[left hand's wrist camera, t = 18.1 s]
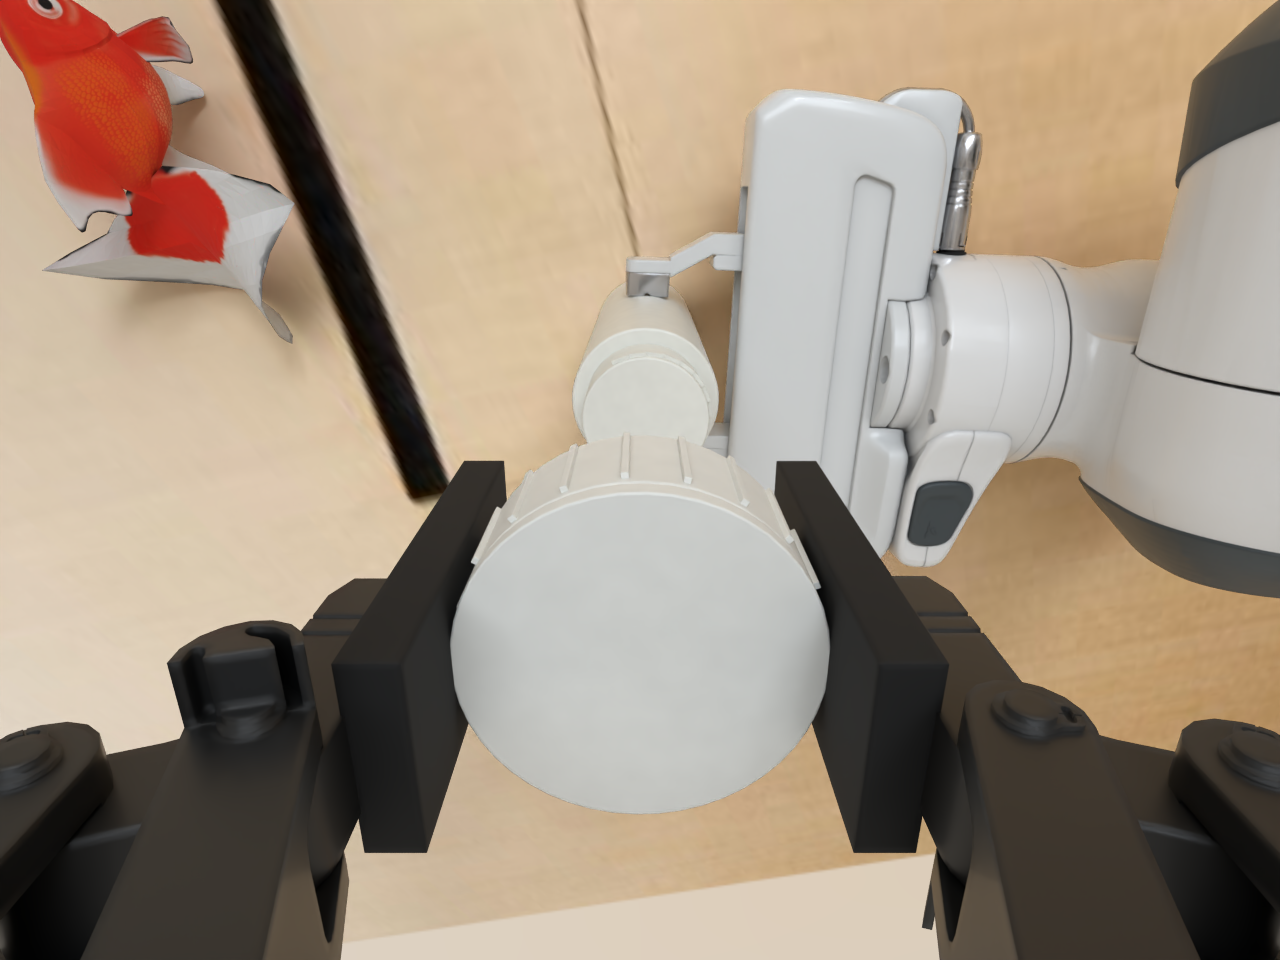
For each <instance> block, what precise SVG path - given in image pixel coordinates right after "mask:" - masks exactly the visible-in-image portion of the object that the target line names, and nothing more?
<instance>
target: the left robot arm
mask: <svg viewBox="0 0 1280 960" xmlns="http://www.w3.org/2000/svg"><path fill="white" fill-rule="evenodd" d="M774 496H775V498H776V500H777V502H778V505H779V507H780V509H781V511H782V514H783V516H784V518H785V520H786V523H787V525H788V527H789V529H790V530H792V529H795V531H796V533H797V535H798V537H799V539H800V542H801V544H802V546H803V548H804V550H805V552H806V555H807V557H808V559H809V561H810V563H811V566H812V568H813V570H814V572H815V574H816V576H817V579H818V581H819V583H820V586H821V588H819V589H816V591H817V594H818V596H819V598H820V601H821V603H822V605H823V608H824V611H825V615H826V619H827V623H828V627H829V635H830V654H829V664H828V673H827V682H826V689H825V694H824V696H823V699H822V701H821V704H820V707H819V709H818V712H817V714H816V716H815V718H814V719H813V721H812V725H813V728H814V731H815V735H816V738H817V741H818V744H819V747H820V750H821V753H822V756H823V759H824V762H825V765H826V769H827V772H828V775H829V778H830V781H831V784H832V787H833V790H834V793H835V796H836V800H837V803H838V806H839V809H840V812H841V815H842V818H843V821H844V824H845V827H846V830H847V834H848V837H849V840H850V843H851V846H852V849H853V852H854V853H916V849H917V844H918V838H919V832H920V827H921V821H922V816H923V818H924V820H925V822H926V825H927V827H928V829H929V831H930V834H931V836H932V838H933V840H934V842H935V845H936V847H937V848H936V854H935V859H934V864H933V869H932V875H931V880H930V885H929V890H928V896H927V901H926V906H925V911H924V918H923V924H922V928H926V929H930V930H932V927H933V922H934V917H935V921H936V930H937V939H938V948H939V957H940V960H1280V735H1278V734H1277V733H1275V732H1273V731H1271V730H1268V729H1265V728H1262V727H1255V725H1252V724H1247V723H1243V722H1236V721H1228V720H1221V719H1208V720H1200V721H1194V722H1192V723H1191V724H1190V725H1188V726H1187V727H1186V728H1184V729H1183V730H1182V733H1181V736H1180V739H1179V742H1178V745H1177V748H1176V751H1175V752H1173V751H1169V750H1164V749H1159V748H1154V747H1149V746H1144V745H1139V744H1135V743H1130V742H1125V741H1120V740H1116V739H1112V738H1108V737H1104V736H1101V735H1099V733H1098V731H1097V729H1096V727H1095V725H1094V724H1093V723H1092V721H1091V720H1090V719H1089V717H1088V716H1087V715H1086V713H1085V712H1084V711H1083V710H1081V709H1080V708H1079V707H1077V706H1076V705H1075V704H1073V703H1072V702H1070V701H1069V700H1068V699H1066V698H1065V697H1063V696H1061V695H1058V694H1056V693H1054V692H1052V691H1049V690H1047V689H1045V688H1043V687H1040V686H1036V685H1032V684H1028V683H1024V682H1021V680H1020V679H1019V678H1018V676H1017V675H1016V674H1015V673H1014V671H1013V670H1012V669H1011V667H1010V666H1009V665H1008V664H1007V662H1006V661H1005V660H1004V658H1003V657H1002V656H1001V655H1000V653H999V652H998V651H997V649H996V648H995V647H994V646H993V644H992V643H991V642H990V640H989V639H988V638H987V637H986V635H985V634H984V633H981V632H980V628H979V626H978V625H977V624H976V623H975V621H974V620H973V619H972V617H971V616H968V612H967V611H966V610H965V608H964V607H963V606H962V605H961V603H960V602H959V601H958V599H957V598H956V597H955V596H954V594H953V593H952V592H950V591H949V590H947V589H945V588H944V587H942V586H941V585H939V584H938V583H936V582H934V581H933V580H931V579H930V578H928V577H926V576H891V574H890V573H889V571H888V570H887V568H886V567H885V565H884V564H883V562H882V561H881V559H880V557H879V556H878V554H877V553H876V551H875V550H874V548H873V547H872V545H871V544H870V542H869V541H868V539H867V538H866V536H865V535H864V533H863V532H862V530H861V529H860V527H859V525H858V524H857V522H856V521H855V519H854V518H853V516H852V515H851V513H850V512H849V510H848V509H847V507H846V506H845V504H844V503H843V501H842V500H841V498H840V496H839V495H838V493H837V492H836V490H835V489H834V487H833V486H832V484H831V483H830V481H829V480H828V478H827V477H826V475H825V474H824V472H823V471H822V469H821V467H820V466H819V464H818V463H817V461H777V462H776V476H775V490H774ZM506 501H507V498H506V484H505V469H504V461H464V462H463V464H462V465H461V467H460V468H459V470H458V471H457V473H456V474H455V476H454V477H453V479H452V480H451V482H450V483H449V485H448V487H447V488H446V490H445V491H444V493H443V494H442V496H441V497H440V499H439V500H438V502H437V503H436V505H435V506H434V508H433V509H432V511H431V512H430V514H429V516H428V517H427V519H426V520H425V522H424V523H423V525H422V526H421V528H420V529H419V531H418V532H417V534H416V535H415V537H414V538H413V540H412V541H411V543H410V544H409V546H408V548H407V549H406V551H405V552H404V554H403V555H402V557H401V558H400V560H399V561H398V563H397V564H396V566H395V567H394V569H393V570H392V572H391V573H390V575H389V577H388V578H387V579H353V580H352V581H350V582H349V583H347V584H346V585H344V586H342V587H341V588H339V589H338V590H336V591H335V592H333V593H331V594H330V595H328V597H327V598H326V599H325V600H324V602H323V603H322V604H321V606H320V607H319V608H318V610H317V611H316V612H315V613H314V615H313V619H310V620H309V621H308V622H307V624H306V625H305V626H304V628H303V629H302V630H301V631H300V630H298V629H297V628H296V627H294V626H293V625H292V624H288V623H283V622H279V621H274V620H269V621H248V622H244V623H239V624H234V625H230V626H225V627H222V628H220V629H217V630H215V631H212V632H209V633H207V634H204V635H202V636H199V637H198V638H196V639H195V640H193V641H191V642H190V643H188V644H187V645H185V646H183V647H182V648H180V649H179V650H178V651H177V652H176V654H175V655H174V656H173V657H172V658H171V659H170V660H169V661H168V662H167V665H168V669H169V673H170V676H171V680H172V684H173V687H174V691H175V695H176V698H177V702H178V706H179V709H180V713H181V717H182V720H183V724H184V730H183V732H182V734H181V737H180V739H177V740H173V741H170V742H166V743H162V744H157V745H152V746H147V747H142V748H137V749H132V750H128V751H123V752H118V753H113V754H108V755H106V752H105V749H104V746H103V743H102V740H101V737H100V734H99V733H98V732H97V731H96V730H94V729H93V728H92V727H90V726H89V725H87V724H80V723H72V722H63V723H55V724H47V725H40V726H36V727H31V728H27V730H24V731H23V730H21V731H18V732H15V733H12V734H9V735H7V736H5V737H4V738H2V739H0V960H340V959H341V950H342V941H343V932H344V923H345V914H346V905H347V896H348V887H349V877H348V870H347V864H346V859H345V854H344V849H345V847H346V845H347V843H348V841H349V838H350V836H351V834H352V832H353V829H354V827H355V825H356V823H357V821H358V818H359V824H360V830H361V835H362V841H363V847H364V852H365V853H427V850H428V847H429V844H430V841H431V838H432V835H433V832H434V829H435V826H436V823H437V819H438V816H439V813H440V810H441V807H442V804H443V801H444V798H445V795H446V792H447V789H448V785H449V782H450V779H451V776H452V773H453V770H454V767H455V764H456V761H457V758H458V754H459V751H460V748H461V745H462V742H463V739H464V736H465V733H466V730H467V727H468V724H469V723H468V721H467V719H466V717H465V714H464V712H463V710H462V708H461V706H460V704H459V701H458V697H457V694H456V691H455V686H454V677H453V668H452V658H451V648H450V637H451V631H452V625H453V619H454V616H455V613H456V610H457V604H458V602H459V600H460V598H461V595H462V593H463V591H464V589H465V586H466V584H467V582H468V580H469V577H470V575H471V573H472V570H473V568H474V566H475V564H473V563H471V561H472V558H473V556H474V554H475V552H476V550H477V548H478V545H479V543H480V541H481V539H482V537H483V535H484V532H485V530H486V528H487V526H488V524H489V521H490V519H491V517H492V515H493V513H494V511H495V509H496V507H499V508H501V509H502V507H503V506H504V504H505V503H506Z"/></svg>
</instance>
